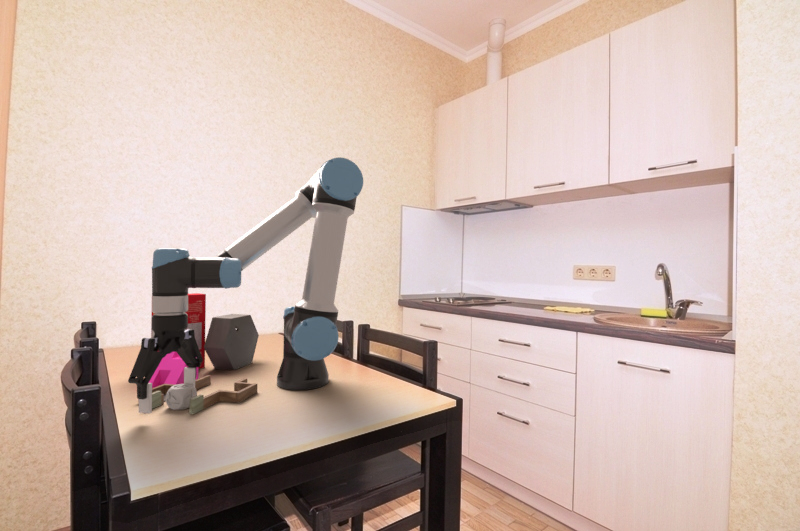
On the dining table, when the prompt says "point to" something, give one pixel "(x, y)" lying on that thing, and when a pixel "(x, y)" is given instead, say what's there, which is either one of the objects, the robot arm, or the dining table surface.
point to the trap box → (200, 402)
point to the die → (180, 396)
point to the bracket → (170, 371)
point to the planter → (231, 341)
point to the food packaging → (196, 320)
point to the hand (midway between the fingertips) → (168, 402)
